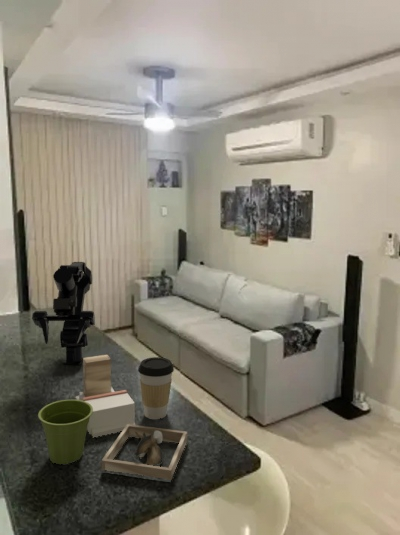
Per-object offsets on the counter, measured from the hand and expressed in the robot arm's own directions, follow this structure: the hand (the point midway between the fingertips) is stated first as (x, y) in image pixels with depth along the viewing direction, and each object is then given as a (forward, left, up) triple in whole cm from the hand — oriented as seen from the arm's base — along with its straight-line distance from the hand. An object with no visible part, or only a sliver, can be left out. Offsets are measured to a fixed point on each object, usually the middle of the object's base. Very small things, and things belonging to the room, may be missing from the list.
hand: (61, 343), depth 131 cm
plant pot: (+33, +19, -15) cm, 41 cm away
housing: (+12, +19, -15) cm, 27 cm away
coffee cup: (+9, +33, -15) cm, 37 cm away
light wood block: (+6, +15, -13) cm, 21 cm away
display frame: (+29, +37, -15) cm, 49 cm away
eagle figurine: (+30, +38, -15) cm, 50 cm away
